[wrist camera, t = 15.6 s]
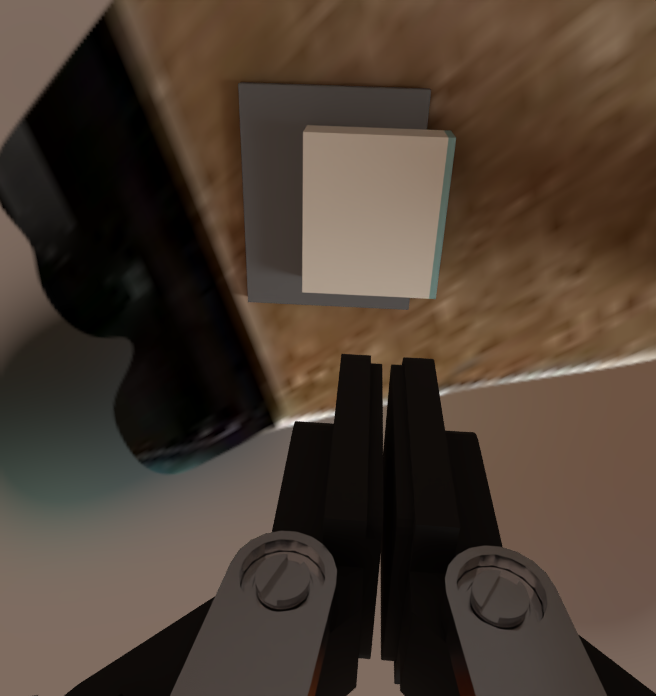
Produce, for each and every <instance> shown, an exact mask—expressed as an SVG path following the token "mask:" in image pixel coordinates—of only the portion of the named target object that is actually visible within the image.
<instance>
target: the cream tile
mask: <svg viewBox="0 0 656 696" xmlns="http://www.w3.org/2000/svg"><path fill="white" fill-rule="evenodd" d="M455 143H456V137H455V136H454V134H453V133H452V132H451V131H450V130H424V129H397V128H371V127H344V126H318V125H307V126H306V128H305V130H304V131H303V237H302V292H305V293H325V294H346V295H366V296H386V297H407V298H427V299H436V292H437V284H438V276H439V268H440V261H441V253H442V245H443V237H444V229H445V222H446V214H447V206H448V198H449V190H450V182H451V175H452V167H453V159H454V151H455Z"/></svg>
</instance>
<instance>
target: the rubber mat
mask: <svg viewBox="0 0 656 696" xmlns="http://www.w3.org/2000/svg"><path fill="white" fill-rule="evenodd" d="M238 90H239V112H240V134H241V156H242V178H243V200H244V222H245V244H246V266H247V288H248V302H260V303H280V304H301V305H321V306H342V307H362V308H382V309H403V310H408V309H409V299H410V298H407V297H386V296H366V295H346V294H325V293H305V292H302V237H303V131H304V130H305V128H306V126H307V125H318V126H344V127H371V128H397V129H424V130H427V124H428V115H429V105H430V95H431V89H426V88H397V87H367V86H337V85H308V84H278V83H249V82H240V83H238Z"/></svg>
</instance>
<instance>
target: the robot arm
mask: <svg viewBox="0 0 656 696" xmlns="http://www.w3.org/2000/svg"><path fill="white" fill-rule="evenodd" d="M382 412H383V401H382V364H373V363H371V356H369V355H352V354H342V355H341V363H340V372H339V382H338V391H337V400H336V409H335V419H334V424H330V423H314V422H298V421H296V422H295V423H294V427H293V431H292V436H291V441H290V446H289V451H288V456H287V461H286V466H285V470H284V476H283V481H282V485H281V491H280V495H279V500H278V505H277V510H276V514H275V520H274V524H273V529H272V532H271V533H266V534H263V535H261V536H259V537H257V538H255V539H252V540H250V541H249V542H248V543H247V544H246V545H244V546H243V547H242V548H241V549H240V550H239V551H238V552H237V554H236V555H235V557H234V558H233V560H232V561H231V563H230V565H229V567H228V569H227V572H226V574H225V576H224V578H223V580H222V583H221V585H220V587H219V589H218V592H217V594H216V596H215V597H213V598H212V599H210V600H208V601H207V602H205V603H204V604H202V605H201V606H199V607H198V608H196V609H195V610H193V611H191V612H190V613H188V614H187V615H185V616H184V617H182V618H181V619H179V620H178V621H176V622H175V623H173V624H171V625H170V626H168V627H167V628H165V629H163V630H162V631H160V632H159V633H157V634H156V635H154V636H153V637H151V638H149V639H148V640H146V641H145V642H143V643H142V644H140V645H139V646H137V647H136V648H134V649H132V650H131V651H129V652H128V653H126V654H125V655H123V656H122V657H120V658H119V659H117V660H115V661H114V662H112V663H111V664H109V665H108V666H106V667H104V668H103V669H101V670H100V671H98V672H97V673H95V674H94V675H92V676H91V677H89V678H87V679H86V680H84V681H83V682H81V683H80V684H78V685H77V686H76V687H74V688H73V689H72V690H71V691H69V692H68V693H67V694H66V695H65V696H347V695H348V694H349V693H350V692H351V691H352V690H353V689H354V688H356V682H357V669H358V658H365V659H370V657H371V648H372V637H373V627H374V616H375V606H376V595H377V585H378V574H379V564H380V554H381V659H382V660H388V661H394V683H395V684H400V691H401V692H402V693H403V694H404V695H405V696H656V694H655V693H654V692H653V691H651V690H650V689H649V688H647V687H646V686H645V685H643V684H642V683H641V682H639V681H638V680H637V679H636V678H634V677H633V676H632V675H631V674H629V673H628V672H626V671H625V670H624V669H623V668H621V667H620V666H619V665H617V664H616V663H615V662H614V661H612V660H611V659H609V658H608V657H607V656H606V655H604V654H603V653H602V652H601V651H599V650H598V649H597V648H595V647H594V646H592V645H591V644H590V643H589V642H588V641H586V640H585V639H584V638H582V637H581V636H580V635H578V633H577V631H576V629H575V627H574V625H573V623H572V621H571V619H570V617H569V614H568V612H567V610H566V608H565V606H564V604H563V602H562V600H561V598H560V596H559V593H558V591H557V589H556V587H555V586H554V584H553V583H552V581H551V580H550V578H549V577H548V575H547V574H546V572H544V571H543V570H542V569H541V568H540V567H539V566H538V565H537V564H536V563H535V562H534V561H532V560H530V559H529V558H527V557H525V556H523V555H522V554H520V553H518V552H516V551H512V550H509V549H506V548H503V547H502V543H501V538H500V534H499V529H498V525H497V521H496V516H495V512H494V508H493V503H492V499H491V495H490V490H489V486H488V481H487V477H486V473H485V468H484V464H483V459H482V455H481V450H480V447H479V442H478V438H477V435H476V434H475V433H473V432H457V431H445V427H444V421H443V415H442V408H441V402H440V395H439V389H438V382H437V376H436V369H435V363H434V359H423V358H405V357H404V358H403V362H402V365H391V371H390V382H389V394H388V405H387V417H386V428H385V439H384V450H383V413H382ZM34 696H38V695H34Z"/></svg>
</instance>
